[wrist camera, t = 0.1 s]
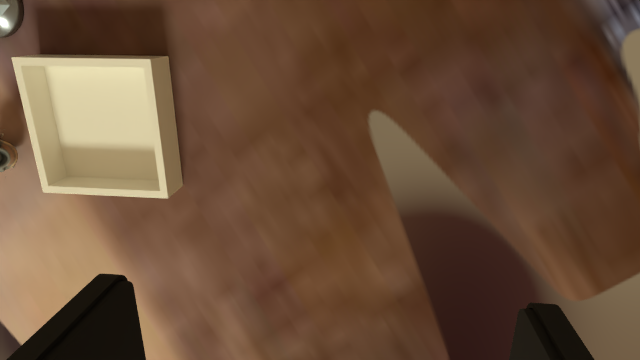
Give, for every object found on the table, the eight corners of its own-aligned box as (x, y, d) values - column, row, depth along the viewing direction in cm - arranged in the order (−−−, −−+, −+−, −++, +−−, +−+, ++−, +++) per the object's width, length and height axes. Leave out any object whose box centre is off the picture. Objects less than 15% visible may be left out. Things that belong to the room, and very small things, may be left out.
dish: (40, 54, 47) (11, 57, 43) (168, 56, 45) (150, 59, 42) (66, 180, 52) (43, 192, 48) (183, 185, 51) (168, 198, 47)
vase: (32, 122, 50) (-8, 139, 45) (49, 165, 52) (12, 186, 47) (-10, 125, 51) (-55, 142, 45) (8, 168, 53) (-32, 189, 47)
